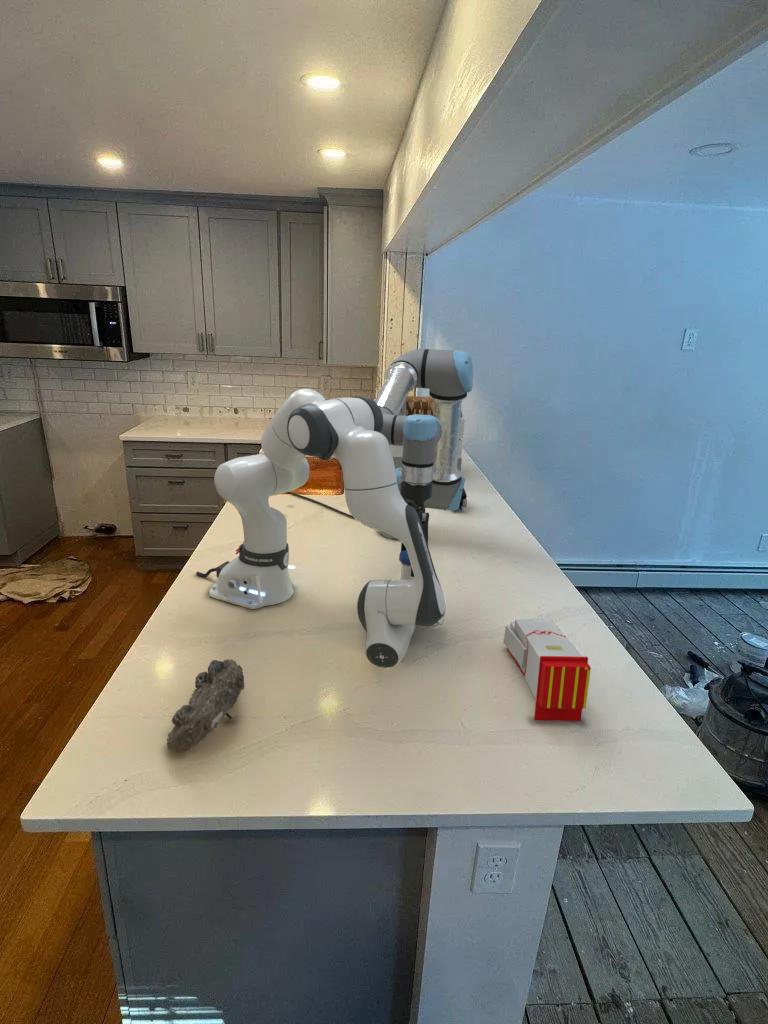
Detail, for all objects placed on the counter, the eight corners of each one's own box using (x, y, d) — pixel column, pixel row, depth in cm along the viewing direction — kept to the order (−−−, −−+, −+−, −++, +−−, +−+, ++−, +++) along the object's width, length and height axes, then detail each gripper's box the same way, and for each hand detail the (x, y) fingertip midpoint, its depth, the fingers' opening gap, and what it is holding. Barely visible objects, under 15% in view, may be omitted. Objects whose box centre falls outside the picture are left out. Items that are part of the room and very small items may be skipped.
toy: (549, 604, 136) (599, 663, 106) (544, 656, 138) (591, 727, 109) (499, 603, 135) (535, 662, 106) (495, 655, 138) (529, 726, 109)
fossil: (192, 660, 117) (244, 628, 112) (224, 691, 120) (276, 661, 115) (142, 746, 98) (202, 712, 93) (182, 779, 101) (242, 748, 96)
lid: (422, 566, 138) (423, 560, 137) (397, 564, 139) (397, 558, 138) (424, 556, 144) (425, 550, 143) (400, 554, 145) (400, 548, 144)
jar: (420, 613, 148) (424, 555, 142) (413, 623, 144) (417, 563, 138) (402, 609, 150) (405, 552, 144) (395, 618, 145) (398, 559, 140)
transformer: (382, 463, 289) (386, 382, 275) (445, 464, 293) (451, 384, 279) (390, 482, 257) (394, 392, 243) (460, 483, 261) (468, 394, 247)
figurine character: (467, 516, 223) (461, 500, 237) (469, 499, 220) (463, 483, 233) (450, 516, 223) (446, 499, 236) (452, 498, 220) (447, 483, 233)
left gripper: (443, 614, 129) (451, 587, 142) (357, 601, 134) (372, 576, 146) (441, 638, 132) (449, 610, 144) (356, 624, 136) (371, 597, 149)
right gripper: (389, 470, 143) (385, 552, 150) (415, 495, 124) (409, 588, 132) (417, 469, 145) (412, 550, 152) (447, 494, 126) (439, 585, 134)
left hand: (409, 592), depth 145 cm, fingers closed on jar, 5 cm apart
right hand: (410, 568), depth 142 cm, fingers open, 8 cm apart
